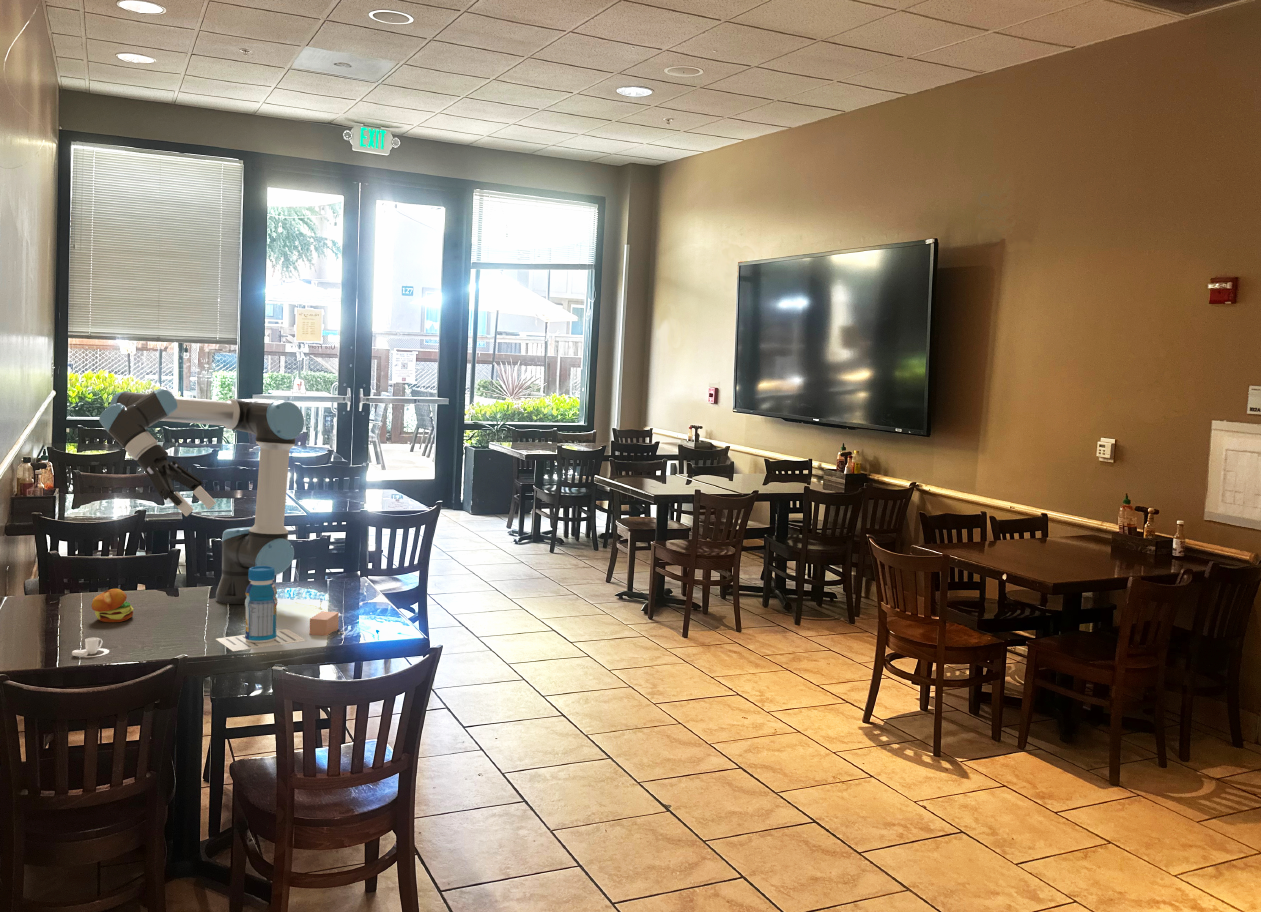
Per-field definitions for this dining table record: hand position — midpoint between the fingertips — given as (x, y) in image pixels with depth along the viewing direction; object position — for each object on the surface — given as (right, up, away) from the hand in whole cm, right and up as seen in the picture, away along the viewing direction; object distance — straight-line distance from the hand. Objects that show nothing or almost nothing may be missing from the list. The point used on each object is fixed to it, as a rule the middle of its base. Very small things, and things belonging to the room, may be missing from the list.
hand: (201, 509), depth 278 cm
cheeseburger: (-33, -33, +17) cm, 49 cm away
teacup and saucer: (-25, -37, -16) cm, 47 cm away
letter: (+16, -36, +2) cm, 40 cm away
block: (+29, -34, +9) cm, 46 cm away
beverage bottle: (+16, -36, +2) cm, 39 cm away
